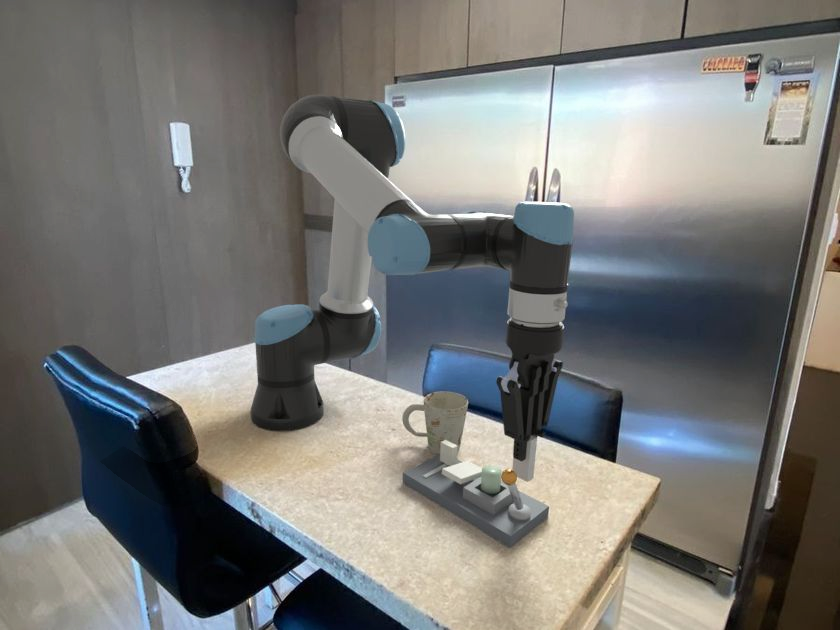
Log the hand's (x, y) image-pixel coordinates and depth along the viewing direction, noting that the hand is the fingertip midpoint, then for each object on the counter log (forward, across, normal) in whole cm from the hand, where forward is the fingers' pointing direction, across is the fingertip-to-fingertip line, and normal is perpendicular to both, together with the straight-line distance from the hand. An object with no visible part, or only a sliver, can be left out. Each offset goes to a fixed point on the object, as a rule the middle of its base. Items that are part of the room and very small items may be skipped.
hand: (522, 476), depth 75 cm
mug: (+9, +8, +25) cm, 28 cm away
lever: (+5, 0, 0) cm, 5 cm away
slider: (+6, +2, +17) cm, 18 cm away
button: (+5, 0, +6) cm, 7 cm away
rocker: (+5, 0, +11) cm, 12 cm away
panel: (+8, 0, +9) cm, 12 cm away
